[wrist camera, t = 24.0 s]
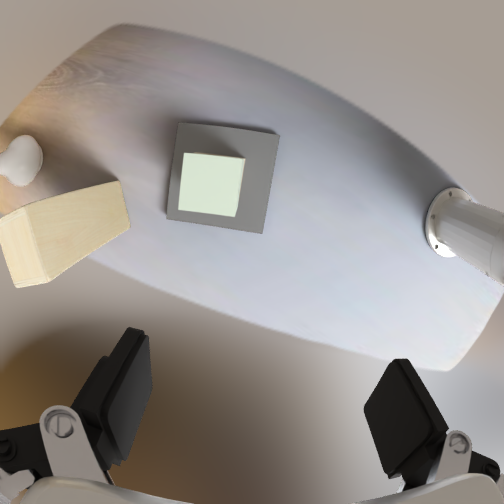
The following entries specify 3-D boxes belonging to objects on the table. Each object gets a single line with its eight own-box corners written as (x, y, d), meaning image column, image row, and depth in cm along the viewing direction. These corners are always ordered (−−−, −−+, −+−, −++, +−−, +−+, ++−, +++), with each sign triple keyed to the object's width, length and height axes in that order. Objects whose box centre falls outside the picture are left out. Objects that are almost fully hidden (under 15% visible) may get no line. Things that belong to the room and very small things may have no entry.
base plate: (278, 136, 36) (279, 135, 35) (261, 231, 41) (262, 233, 39) (181, 123, 36) (178, 122, 34) (169, 216, 40) (166, 219, 39)
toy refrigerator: (84, 190, 39) (-10, 222, 19) (119, 178, 38) (25, 204, 18) (96, 236, 41) (13, 291, 22) (131, 227, 41) (50, 284, 21)
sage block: (244, 158, 31) (242, 159, 27) (237, 208, 33) (234, 216, 29) (194, 153, 31) (184, 152, 26) (188, 201, 33) (178, 209, 28)
